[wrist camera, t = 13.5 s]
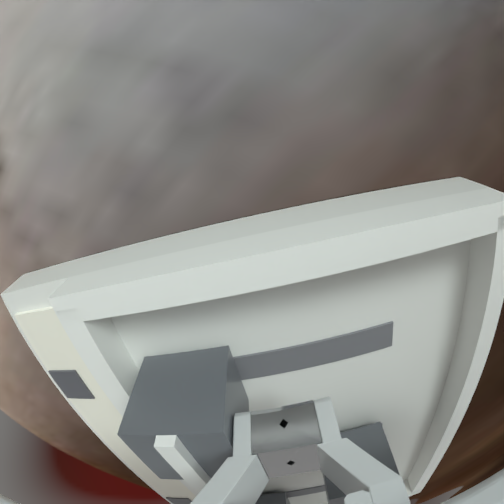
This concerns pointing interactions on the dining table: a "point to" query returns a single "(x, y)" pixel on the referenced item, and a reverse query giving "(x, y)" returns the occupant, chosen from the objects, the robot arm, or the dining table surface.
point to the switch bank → (291, 317)
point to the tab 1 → (184, 413)
